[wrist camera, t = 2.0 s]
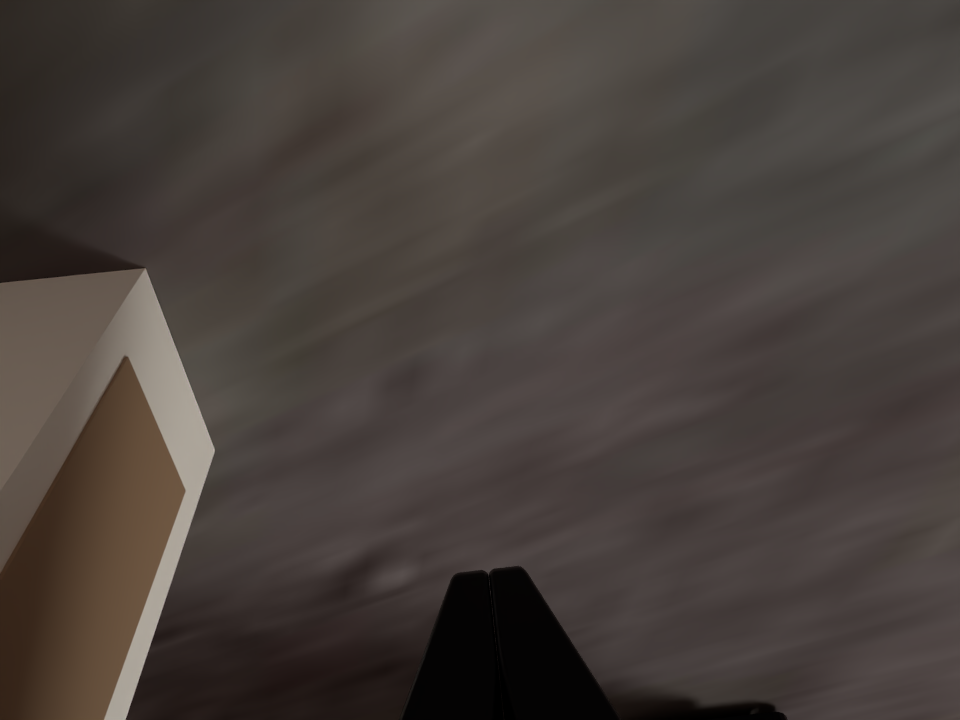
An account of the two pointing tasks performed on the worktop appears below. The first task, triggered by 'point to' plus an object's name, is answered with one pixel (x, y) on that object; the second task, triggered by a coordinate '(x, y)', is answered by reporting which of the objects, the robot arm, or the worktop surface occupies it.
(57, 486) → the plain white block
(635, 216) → the worktop surface
